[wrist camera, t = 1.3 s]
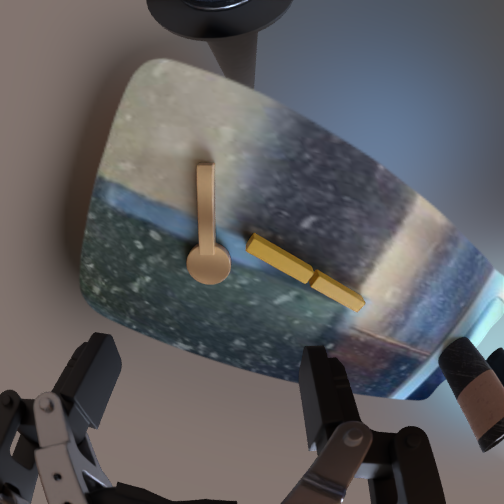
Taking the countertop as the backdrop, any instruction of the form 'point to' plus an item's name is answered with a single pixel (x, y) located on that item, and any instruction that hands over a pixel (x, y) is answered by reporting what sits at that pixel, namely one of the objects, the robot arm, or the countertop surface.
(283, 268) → the bar
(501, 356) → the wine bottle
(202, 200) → the spoon
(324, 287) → the bar
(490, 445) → the travel mug
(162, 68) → the countertop surface
